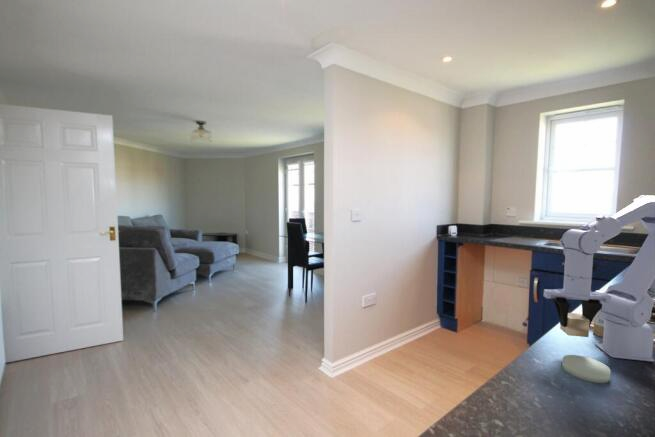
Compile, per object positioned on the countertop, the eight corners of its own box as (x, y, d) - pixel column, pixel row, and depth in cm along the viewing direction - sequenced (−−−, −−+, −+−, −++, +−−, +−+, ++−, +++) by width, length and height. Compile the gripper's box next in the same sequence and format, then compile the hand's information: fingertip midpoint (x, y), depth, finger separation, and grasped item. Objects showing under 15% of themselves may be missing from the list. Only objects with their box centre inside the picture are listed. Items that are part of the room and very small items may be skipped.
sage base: (596, 365, 82) (596, 357, 82) (619, 385, 73) (619, 376, 73) (555, 360, 84) (556, 353, 84) (573, 380, 75) (573, 371, 75)
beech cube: (579, 330, 88) (580, 313, 88) (588, 337, 84) (589, 320, 83) (560, 328, 89) (561, 312, 89) (568, 335, 85) (569, 318, 84)
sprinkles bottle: (613, 335, 99) (617, 292, 98) (608, 339, 97) (612, 295, 96) (595, 330, 103) (598, 288, 102) (589, 333, 100) (592, 291, 99)
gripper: (553, 277, 83) (549, 329, 84) (620, 281, 80) (616, 335, 81) (541, 271, 90) (538, 319, 91) (603, 274, 86) (599, 324, 87)
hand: (574, 326), depth 86 cm, fingers closed on beech cube, 4 cm apart
